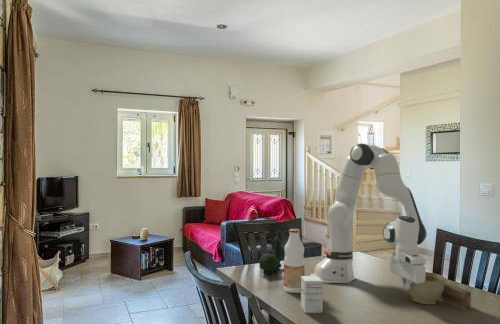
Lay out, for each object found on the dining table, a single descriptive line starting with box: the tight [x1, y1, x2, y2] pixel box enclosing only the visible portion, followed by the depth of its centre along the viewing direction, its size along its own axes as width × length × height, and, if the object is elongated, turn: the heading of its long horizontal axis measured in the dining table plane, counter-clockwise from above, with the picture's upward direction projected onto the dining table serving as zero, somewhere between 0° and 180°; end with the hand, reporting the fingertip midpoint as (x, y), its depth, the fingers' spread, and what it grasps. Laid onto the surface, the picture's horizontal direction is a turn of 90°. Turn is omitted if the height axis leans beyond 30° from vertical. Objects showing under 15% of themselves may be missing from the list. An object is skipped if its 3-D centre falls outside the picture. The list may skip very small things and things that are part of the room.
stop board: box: [437, 281, 472, 311], centre depth 173 cm, size 4×24×7 cm, turn 12°
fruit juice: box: [283, 228, 306, 294], centre depth 185 cm, size 9×9×28 cm
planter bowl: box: [407, 271, 447, 305], centre depth 171 cm, size 16×16×11 cm
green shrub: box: [258, 236, 284, 276], centre depth 215 cm, size 9×19×25 cm
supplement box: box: [300, 275, 324, 314], centre depth 160 cm, size 7×7×13 cm
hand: (406, 288), depth 169 cm, fingers closed
